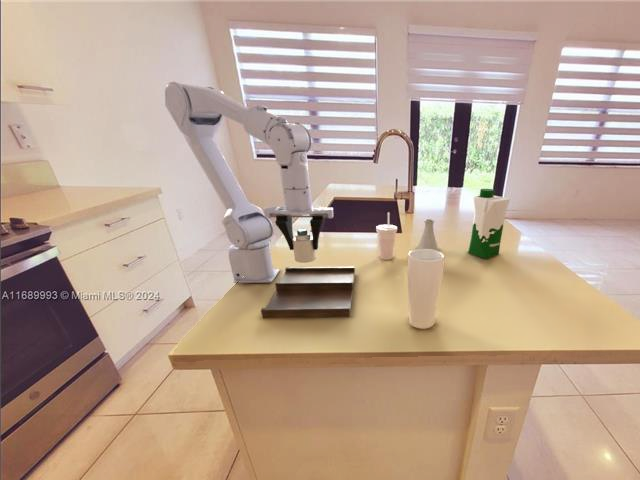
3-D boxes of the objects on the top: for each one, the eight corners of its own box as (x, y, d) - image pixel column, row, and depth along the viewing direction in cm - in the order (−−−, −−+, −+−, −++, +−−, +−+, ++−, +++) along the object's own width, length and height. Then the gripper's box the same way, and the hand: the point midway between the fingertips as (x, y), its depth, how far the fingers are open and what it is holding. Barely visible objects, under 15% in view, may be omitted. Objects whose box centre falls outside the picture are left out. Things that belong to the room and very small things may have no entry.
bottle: (293, 262, 72) (288, 233, 69) (297, 255, 76) (293, 227, 73) (314, 262, 72) (310, 233, 69) (317, 255, 76) (314, 227, 73)
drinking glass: (428, 336, 61) (434, 264, 54) (399, 325, 64) (401, 255, 57) (443, 320, 66) (450, 253, 59) (415, 311, 69) (419, 246, 62)
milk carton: (480, 247, 109) (489, 187, 99) (503, 255, 102) (514, 191, 93) (464, 252, 104) (471, 189, 94) (486, 260, 97) (497, 194, 88)
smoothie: (394, 262, 95) (395, 215, 88) (373, 260, 96) (373, 214, 89) (398, 255, 100) (399, 210, 94) (379, 253, 101) (379, 209, 95)
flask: (441, 249, 106) (444, 219, 102) (432, 255, 101) (434, 224, 96) (423, 245, 110) (424, 216, 105) (412, 250, 104) (414, 220, 99)
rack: (262, 318, 65) (260, 306, 64) (287, 276, 84) (285, 267, 82) (349, 316, 66) (349, 305, 65) (355, 276, 85) (354, 266, 84)
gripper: (254, 190, 62) (266, 254, 69) (328, 190, 64) (333, 254, 70) (265, 184, 69) (275, 244, 75) (332, 185, 70) (336, 244, 76)
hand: (304, 248), depth 73 cm, fingers closed on bottle, 5 cm apart
